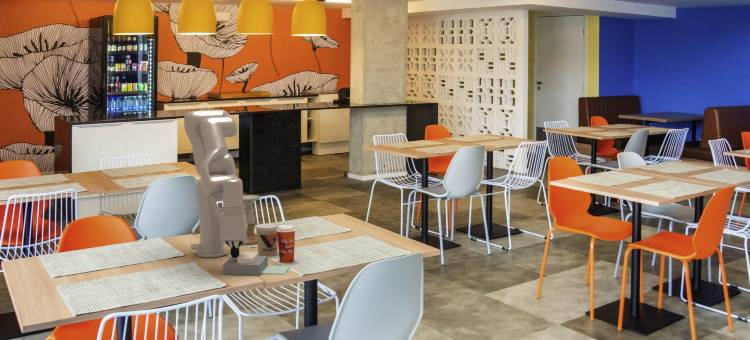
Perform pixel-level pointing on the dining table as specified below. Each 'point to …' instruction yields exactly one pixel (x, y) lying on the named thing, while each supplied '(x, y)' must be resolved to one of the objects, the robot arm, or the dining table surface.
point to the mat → (275, 270)
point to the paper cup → (286, 242)
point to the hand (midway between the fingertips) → (235, 257)
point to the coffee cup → (267, 239)
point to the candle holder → (250, 217)
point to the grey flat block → (245, 266)
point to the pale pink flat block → (248, 257)
